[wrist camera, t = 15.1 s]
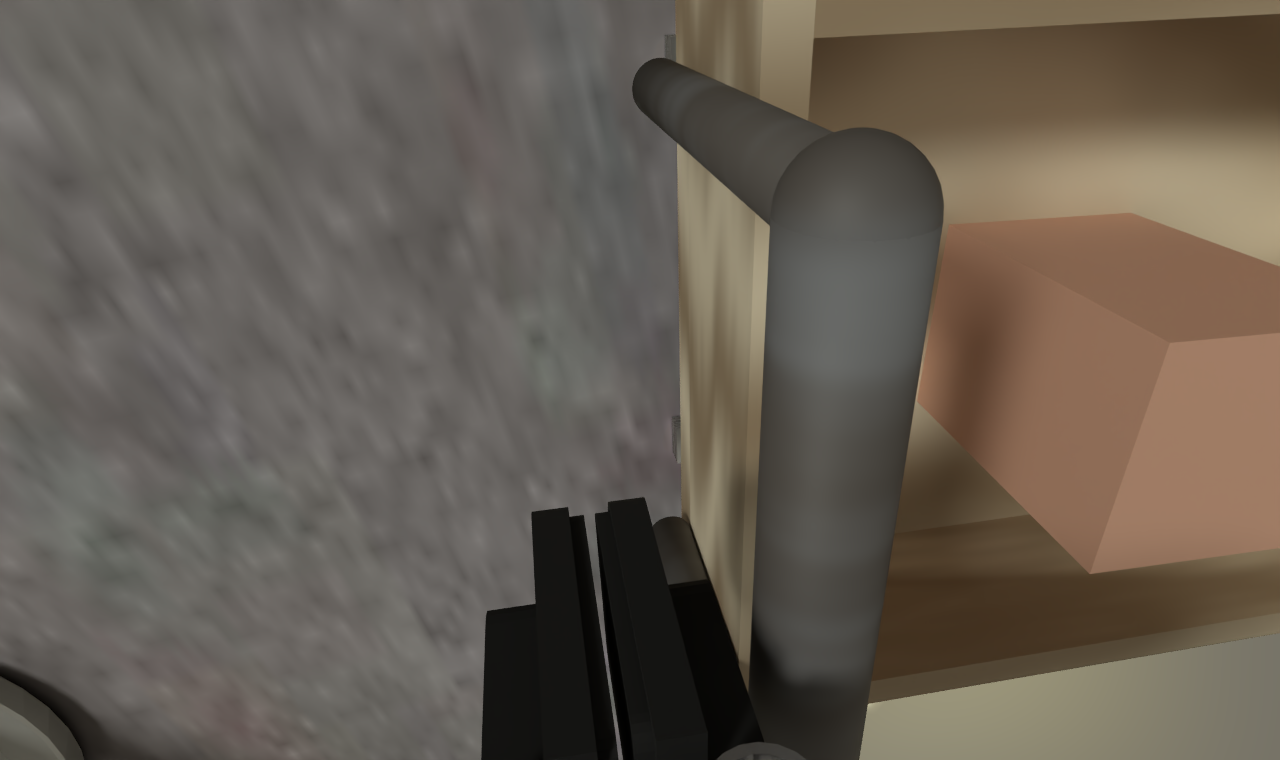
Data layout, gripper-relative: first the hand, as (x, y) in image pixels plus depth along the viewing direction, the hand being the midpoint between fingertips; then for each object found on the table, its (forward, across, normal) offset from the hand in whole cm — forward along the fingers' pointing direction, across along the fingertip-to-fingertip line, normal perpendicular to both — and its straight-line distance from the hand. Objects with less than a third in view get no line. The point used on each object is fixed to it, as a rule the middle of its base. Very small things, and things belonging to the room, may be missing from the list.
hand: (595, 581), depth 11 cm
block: (+8, -12, 0) cm, 15 cm away
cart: (+12, -12, 0) cm, 17 cm away
